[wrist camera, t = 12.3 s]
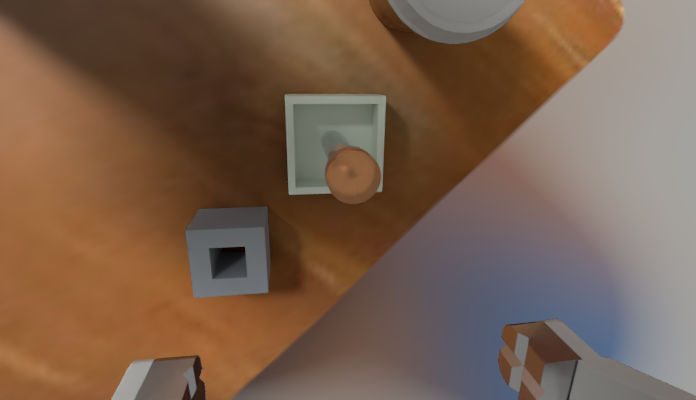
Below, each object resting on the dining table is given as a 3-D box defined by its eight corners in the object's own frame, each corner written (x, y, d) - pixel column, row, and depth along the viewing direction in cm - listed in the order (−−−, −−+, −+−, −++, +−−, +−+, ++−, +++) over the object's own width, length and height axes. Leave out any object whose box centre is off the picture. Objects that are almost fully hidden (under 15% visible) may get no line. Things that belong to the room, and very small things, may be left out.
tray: (285, 93, 32) (284, 95, 30) (378, 93, 34) (386, 96, 31) (288, 184, 35) (288, 194, 32) (374, 182, 36) (382, 191, 33)
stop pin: (314, 123, 33) (326, 151, 22) (351, 123, 33) (382, 150, 22) (314, 160, 34) (327, 205, 23) (350, 159, 34) (380, 203, 23)
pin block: (199, 208, 34) (185, 230, 30) (267, 206, 35) (264, 227, 31) (206, 268, 36) (194, 297, 32) (270, 264, 37) (268, 292, 33)
